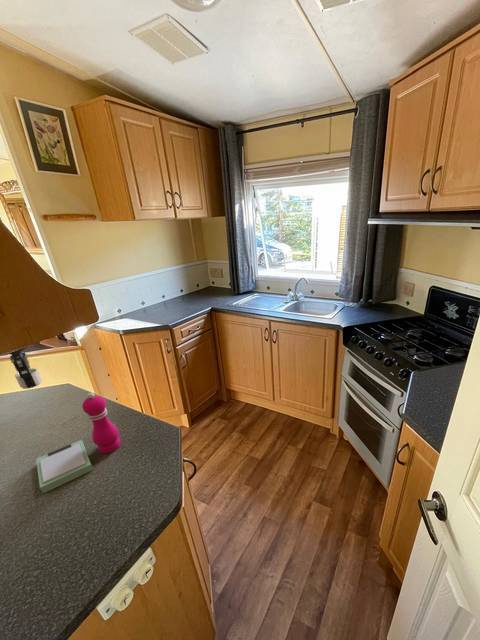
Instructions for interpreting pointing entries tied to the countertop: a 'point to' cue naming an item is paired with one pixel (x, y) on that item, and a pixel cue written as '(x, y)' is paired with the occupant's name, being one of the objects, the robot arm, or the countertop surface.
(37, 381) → the dip bowl
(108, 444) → the pepper mill
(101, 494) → the countertop surface
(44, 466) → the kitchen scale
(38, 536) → the countertop surface
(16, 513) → the countertop surface
